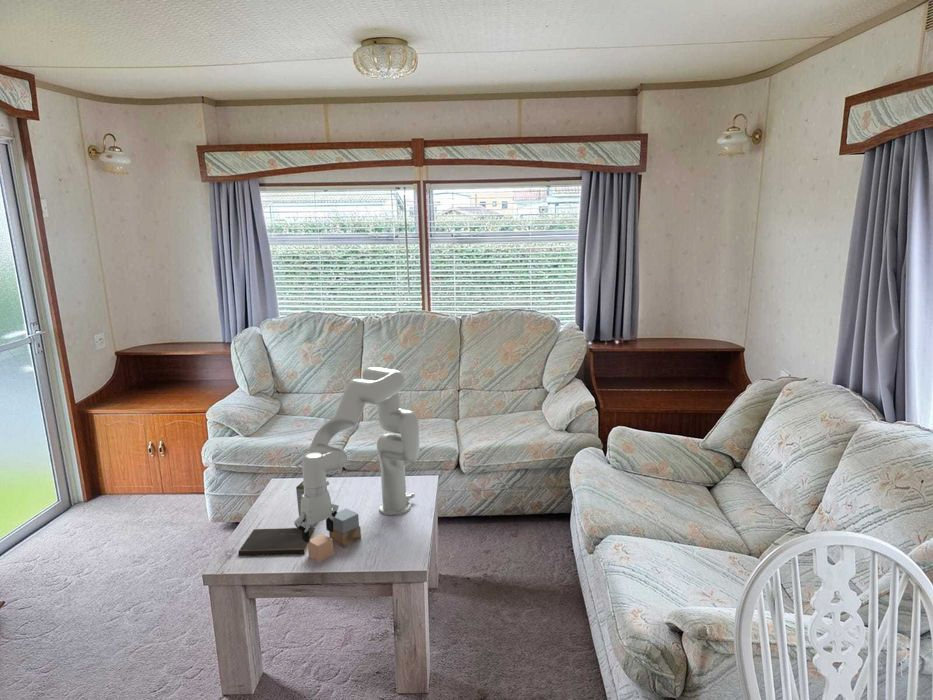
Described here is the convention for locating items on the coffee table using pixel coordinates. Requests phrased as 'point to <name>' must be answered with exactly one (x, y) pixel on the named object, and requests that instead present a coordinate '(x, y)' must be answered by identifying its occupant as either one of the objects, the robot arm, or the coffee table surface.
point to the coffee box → (299, 496)
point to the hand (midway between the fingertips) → (318, 536)
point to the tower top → (345, 521)
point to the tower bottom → (345, 537)
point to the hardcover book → (275, 542)
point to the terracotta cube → (320, 547)
